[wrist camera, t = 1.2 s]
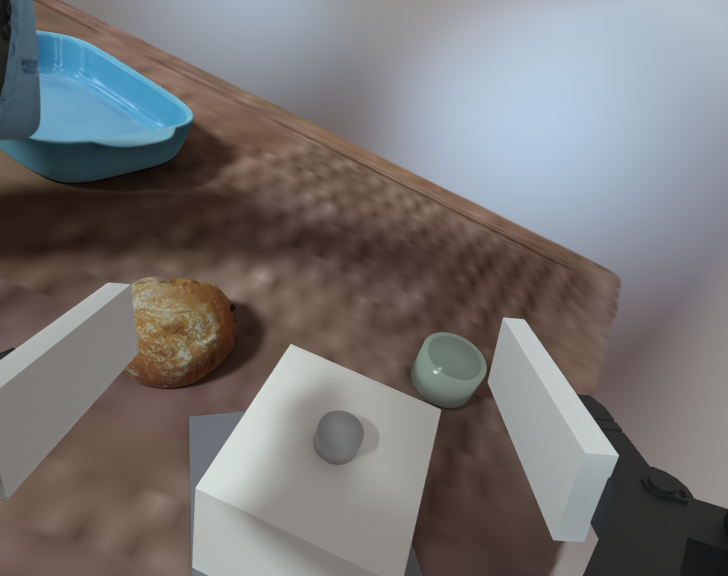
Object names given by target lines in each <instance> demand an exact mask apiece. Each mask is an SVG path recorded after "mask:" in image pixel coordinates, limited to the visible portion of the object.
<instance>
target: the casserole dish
mask: <svg viewBox="0 0 728 576" xmlns="http://www.w3.org/2000/svg"><path fill="white" fill-rule="evenodd" d="M36 35H37V47H38V70H39V79H40V97H41V119H40V126H39V128H38V130H37V131H36V132H35V134H33V135H32V136H30V137H28V138H25V139H11V140H0V149H1V150H2V151H4V152H5V153H6V154H7V155H9V156H10V157H11V158H13V159H14V160H16V161H17V162H19V163H20V164H22V165H23V166H25V167H27V168H28V169H30V170H32V171H34V172H36V173H38V174H40V175H42V176H45V177H47V178H50V179H53V180H56V181H61V182H69V183H79V182H88V181H94V180H99V179H104V178H109V177H114V176H118V175H122V174H125V173H129V172H134V171H138V170H142V169H146V168H149V167H153V166H156V165H160V164H163V163H165V162H167V161H169V160H171V159H172V158H173V157H174V156H175V155H176V154H177V153H178V152H179V150H180V149H181V147H182V145H183V143H184V141H185V139H186V136H187V134H188V131H189V129H190V127H191V124H192V122H193V119H194V115H193V113H192V111H191V109H190V108H189V107H188V106H187V105H186V104H185V103H183V102H182V101H181V100H179V99H178V98H176V97H175V96H174V95H172V94H171V93H169V92H168V91H166V90H165V89H163V88H162V87H160V86H159V85H157V84H155V83H154V82H152V81H151V80H149V79H148V78H146V77H144V76H143V75H141V74H140V73H138V72H136V71H135V70H133V69H132V68H130V67H128V66H127V65H125V64H124V63H122V62H121V61H119V60H117V59H116V58H114V57H113V56H111V55H109V54H108V53H106V52H104V51H102V50H101V49H99V48H97V47H95V46H93V45H91V44H89V43H87V42H85V41H83V40H80V39H77V38H74V37H71V36H67V35H62V34H57V33H51V32H43V31H36Z"/></svg>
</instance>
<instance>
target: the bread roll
mask: <svg viewBox="0 0 728 576" xmlns="http://www.w3.org/2000/svg"><path fill="white" fill-rule="evenodd" d="M131 292H132V301H133V309H134V318H135V326H136V334H137V343H138V351H139V353H138V354H137V355H136V356H135V357H134V358H133V360H132V361H131V362H130V363H129V364H128V365H127V366H126V367H125V369H124V370H123V372H124V374H126V375H128V376H129V377H131V378H132V379H133V380H135V381H136V382H137V383H139V384H142V385H145V386H149V387H153V388H174V387H182V386H186V385H189V384H193V383H195V382H197V381H198V380H200V379H201V378H202V377H204V376H206V374H207V373H209V372H211V371H212V370H213V369H215V368H216V367H217V366H218V365H219V364H220V363H222V362H223V361H224V360H225V359H226V358H227V356H228V354H229V353H230V351H231V350H232V349H233V346H234V341H235V337H236V335H237V333H238V328H237V322H236V319H235V318H234V315H233V313H232V311H234V310H235V308H236V306H235V304H234V303H233V302H232V301H230V300H229V299H228V298H227V297H226V296H225V295H224V293H223V292H222V291H221V290H220V289H218V287H217V286H216V285H214V284H212V285H211V284H209V283H205V282H197V281H195V280H193V279H186V280H185V279H181V278H172V277H147V278H144V279H141V280H138V281H136V282H134V283H133V284H131Z"/></svg>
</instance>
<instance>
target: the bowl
mask: <svg viewBox="0 0 728 576" xmlns="http://www.w3.org/2000/svg"><path fill="white" fill-rule="evenodd" d="M486 371H487V365H486V361H485V359H484V357H483V355H482V353H481V352H480V351H479V349H478V348H477V347H476V346H475V345H473V344H472V343H471V342H470V341H468V340H467V339H465V338H463V337H461V336H458V335H456V334H452V333H447V332H439V333H434V334H432V335H430V336H429V337H427V338H426V340H425V341H424V343H423V345H422V347H421V349H420V351H419V353H418V355H417V357H416V359H415V361H414V363H413V365H412V368H411V380H412V383H413V385H414V387H415V388H416V390H417V391H418V392H419V394H420V395H421V396H422V397H424V398H425V399H426V400H428V401H429V402H431V403H433V404H435V405H437V406H440V407H444V408H457V407H461V406H463V405H464V404H466V403H467V402H468V400H469V399H470V398H471V396H472V395H473V393H474V392H475V390H476V389H477V387H478V386H479V384H480V383H481V381H482V380H483V378H484V376H485V375H486Z"/></svg>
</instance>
